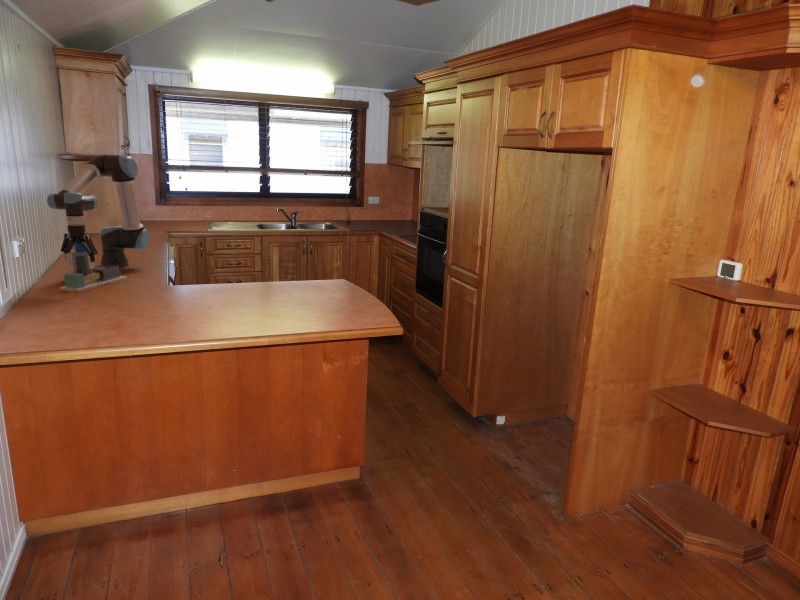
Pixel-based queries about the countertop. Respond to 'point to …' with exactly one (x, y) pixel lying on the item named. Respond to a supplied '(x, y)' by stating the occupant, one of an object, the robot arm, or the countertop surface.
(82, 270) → the l-shaped block
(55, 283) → the countertop surface
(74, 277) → the green rectangular block
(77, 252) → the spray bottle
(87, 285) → the base board
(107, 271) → the sleeve
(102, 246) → the robot arm
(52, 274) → the countertop surface
